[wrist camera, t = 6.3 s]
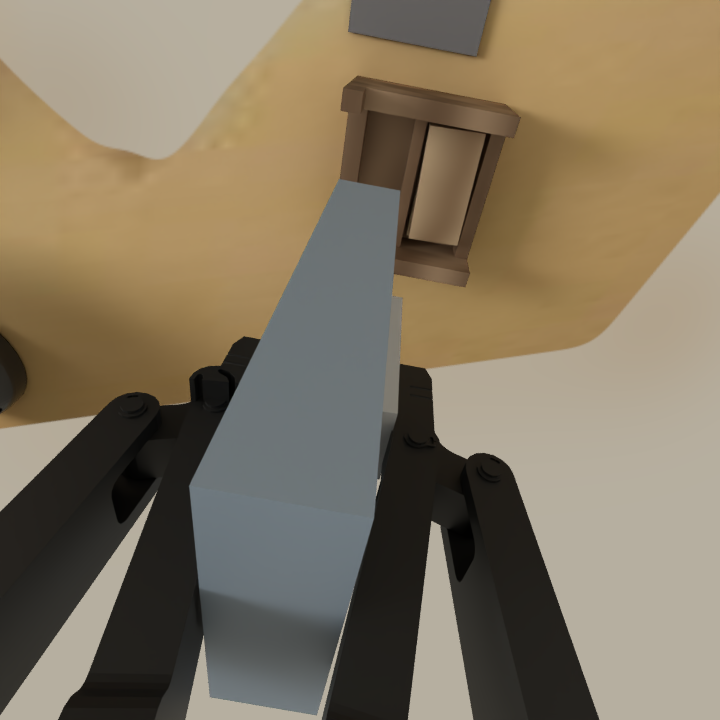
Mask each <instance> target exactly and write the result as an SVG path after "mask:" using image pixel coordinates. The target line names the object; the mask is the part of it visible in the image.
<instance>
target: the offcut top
mask: <svg viewBox="0 0 720 720" xmlns="http://www.w3.org/2000/svg"><path fill="white" fill-rule="evenodd" d="M485 136H486V133H485V132H480V131H474V130H469V129H464V128H459V127H454V126H448V125H443V124H438V123H433V122H430V124H429V130H428V135H427V140H426V145H425V151H424V156H423V161H422V166H421V172H420V177H419V182H418V187H417V193H416V198H415V203H414V209H413V214H412V219H411V224H410V230H409V238H410V239H416V240H423V241H429V242H436V243H442V244H449V245H455V246H457V245H458V241H459V237H460V233H461V229H462V225H463V221H464V218H465V214H466V210H467V206H468V202H469V198H470V194H471V190H472V187H473V183H474V179H475V175H476V171H477V167H478V163H479V159H480V156H481V152H482V148H483V144H484V140H485Z"/></svg>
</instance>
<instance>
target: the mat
mask: <svg viewBox="0 0 720 720" xmlns="http://www.w3.org/2000/svg"><path fill="white" fill-rule="evenodd" d="M490 2H491V0H352V3H351V12H350V20H349V29H348V32H353V33H358V34H363V35H368V36H373V37H378V38H384V39H389V40H394V41H399V42H404V43H409V44H414V45H420V46H425V47H430V48H435V49H440V50H445V51H450V52H456V53H461V54H466V55H471V56H477V52H478V48H479V44H480V40H481V37H482V33H483V29H484V25H485V21H486V17H487V13H488V9H489V5H490Z"/></svg>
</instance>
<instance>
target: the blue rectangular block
mask: <svg viewBox="0 0 720 720" xmlns="http://www.w3.org/2000/svg"><path fill="white" fill-rule="evenodd" d="M399 200H400V190H394V189H389V188H384V187H378V186H373V185H368V184H363V183H357V182H352V181H347V180H341V179H339V180H338V182H337V184H336V187H335V189H334V191H333V193H332V195H331V197H330V199H329V201H328V203H327V205H326V207H325V209H324V211H323V213H322V215H321V217H320V219H319V221H318V223H317V225H316V227H315V229H314V232H313V234H312V236H311V238H310V240H309V242H308V244H307V246H306V248H305V250H304V252H303V254H302V256H301V258H300V260H299V262H298V264H297V266H296V268H295V270H294V272H293V274H292V276H291V279H290V281H289V283H288V285H287V287H286V289H285V291H284V293H283V295H282V297H281V299H280V301H279V303H278V305H277V307H276V309H275V311H274V313H273V315H272V317H271V319H270V321H269V324H268V326H267V328H266V330H265V332H264V334H263V336H262V338H261V340H260V342H259V344H258V346H257V348H256V350H255V352H254V354H253V356H252V358H251V360H250V362H249V364H248V366H247V369H246V371H245V373H244V375H243V377H242V379H241V381H240V383H239V385H238V387H237V389H236V391H235V393H234V395H233V397H232V399H231V401H230V403H229V405H228V407H227V409H226V411H225V413H224V416H223V418H222V420H221V422H220V424H219V426H218V428H217V430H216V432H215V434H214V436H213V438H212V440H211V442H210V444H209V446H208V448H207V450H206V452H205V454H204V456H203V458H202V461H201V463H200V465H199V467H198V469H197V471H196V473H195V475H194V477H193V479H192V481H191V483H190V485H189V489H190V499H191V509H192V519H193V529H194V540H195V550H196V560H197V570H198V580H199V591H200V601H201V611H202V621H203V632H204V641H205V652H206V662H207V672H208V683H209V693H210V697H212V698H218V699H224V700H230V701H235V702H242V703H248V704H253V705H259V706H265V707H271V708H277V709H282V710H288V711H294V712H301V713H306V714H312V715H317V712H318V709H319V705H320V702H321V699H322V695H323V692H324V688H325V685H326V682H327V678H328V674H329V671H330V668H331V664H332V661H333V657H334V654H335V650H336V647H337V644H338V640H339V637H340V633H341V630H342V627H343V623H344V620H345V616H346V613H347V609H348V606H349V602H350V599H351V596H352V592H353V589H354V585H355V582H356V578H357V575H358V572H359V568H360V565H361V561H362V558H363V554H364V551H365V548H366V544H367V541H368V537H369V534H370V530H371V527H372V524H373V520H374V512H375V499H376V486H377V475H378V462H379V450H380V437H381V425H382V412H383V400H384V387H385V375H386V362H387V350H388V337H389V325H390V313H391V300H392V288H393V275H394V263H395V250H396V238H397V225H398V213H399Z"/></svg>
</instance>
